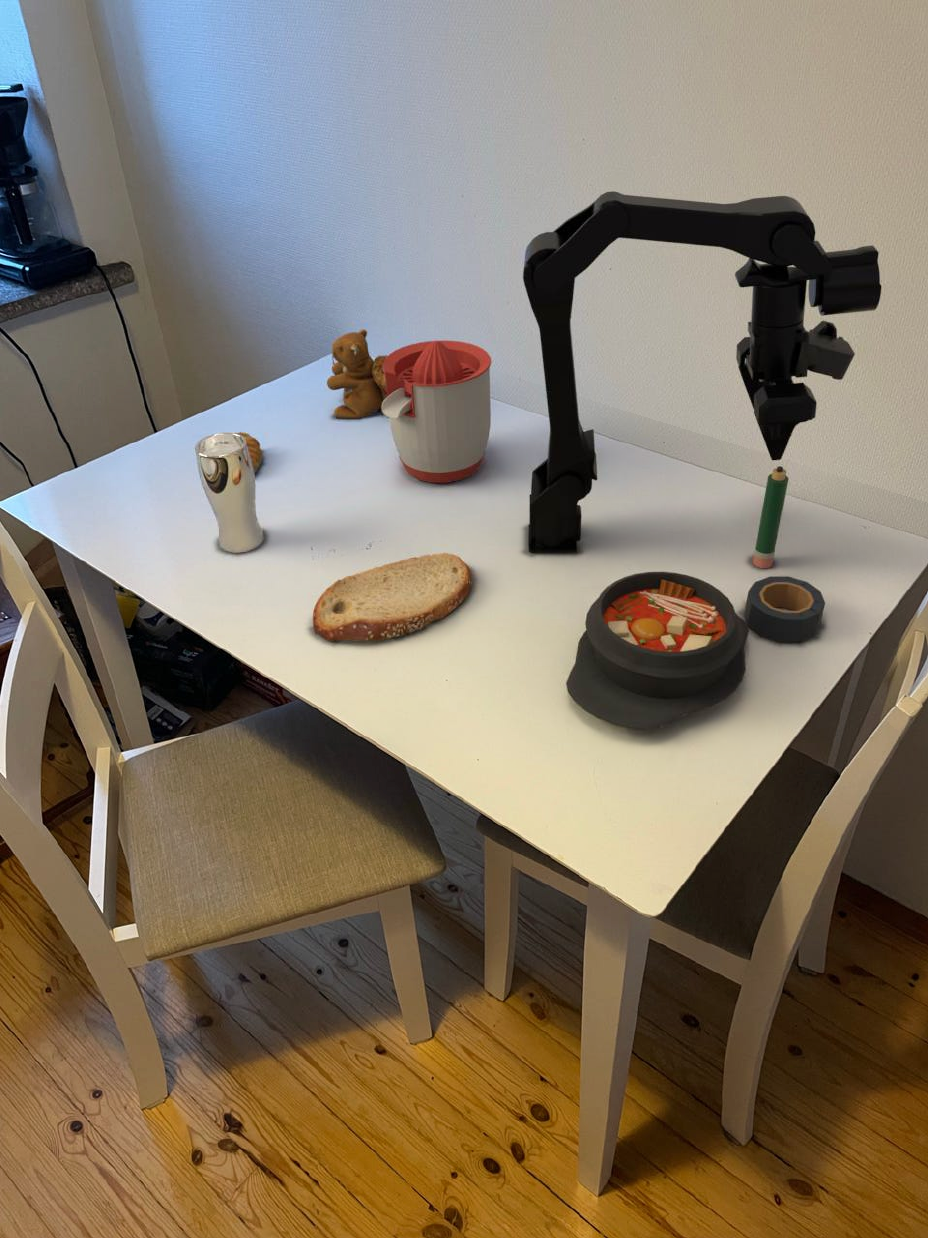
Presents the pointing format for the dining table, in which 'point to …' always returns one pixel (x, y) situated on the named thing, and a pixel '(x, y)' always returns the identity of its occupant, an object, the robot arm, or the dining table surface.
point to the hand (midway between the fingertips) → (769, 441)
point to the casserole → (657, 651)
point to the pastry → (253, 450)
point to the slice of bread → (392, 598)
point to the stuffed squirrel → (357, 376)
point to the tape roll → (782, 622)
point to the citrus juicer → (439, 408)
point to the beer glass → (230, 489)
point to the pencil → (770, 518)
